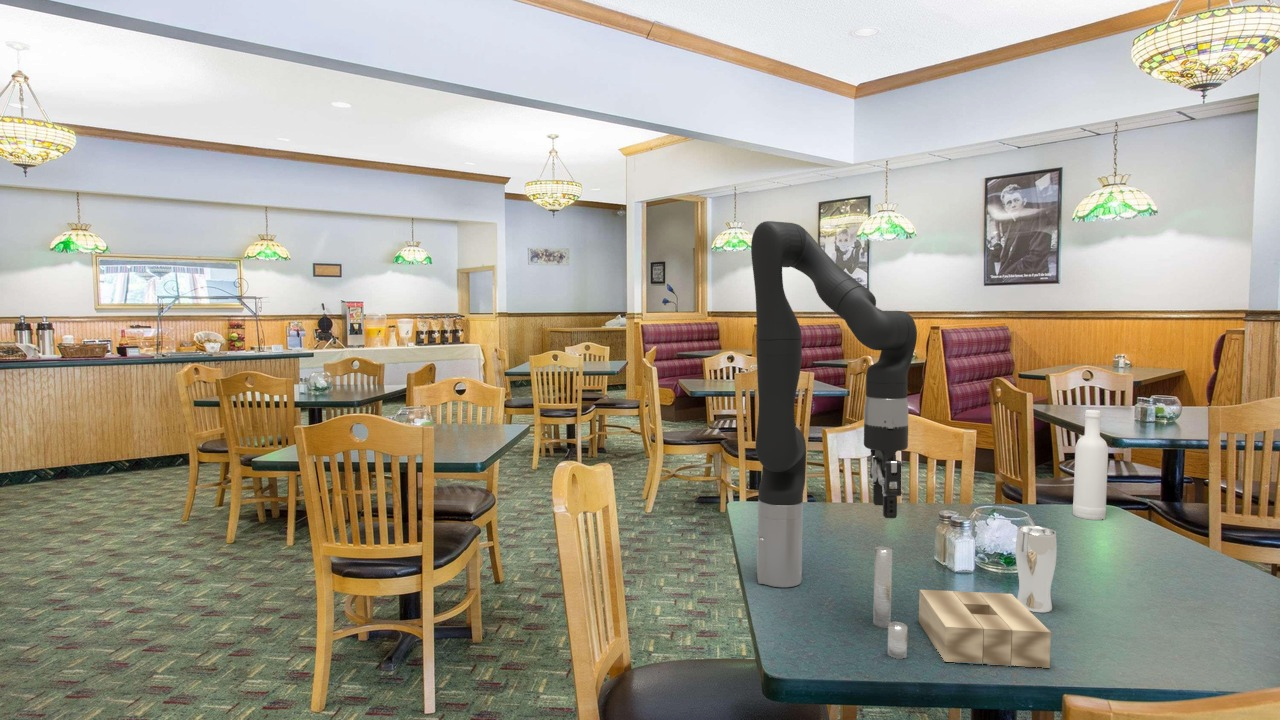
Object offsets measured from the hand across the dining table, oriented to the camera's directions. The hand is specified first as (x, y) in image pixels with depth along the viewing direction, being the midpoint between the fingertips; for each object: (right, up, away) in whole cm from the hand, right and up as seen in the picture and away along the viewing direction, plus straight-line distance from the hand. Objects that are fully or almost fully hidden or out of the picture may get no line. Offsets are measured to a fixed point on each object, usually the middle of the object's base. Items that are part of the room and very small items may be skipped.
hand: (884, 511), depth 130 cm
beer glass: (+32, -21, +9) cm, 39 cm away
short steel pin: (-2, -22, -11) cm, 24 cm away
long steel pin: (0, -21, +1) cm, 21 cm away
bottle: (+82, -17, +73) cm, 111 cm away
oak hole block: (+14, -21, -7) cm, 26 cm away
